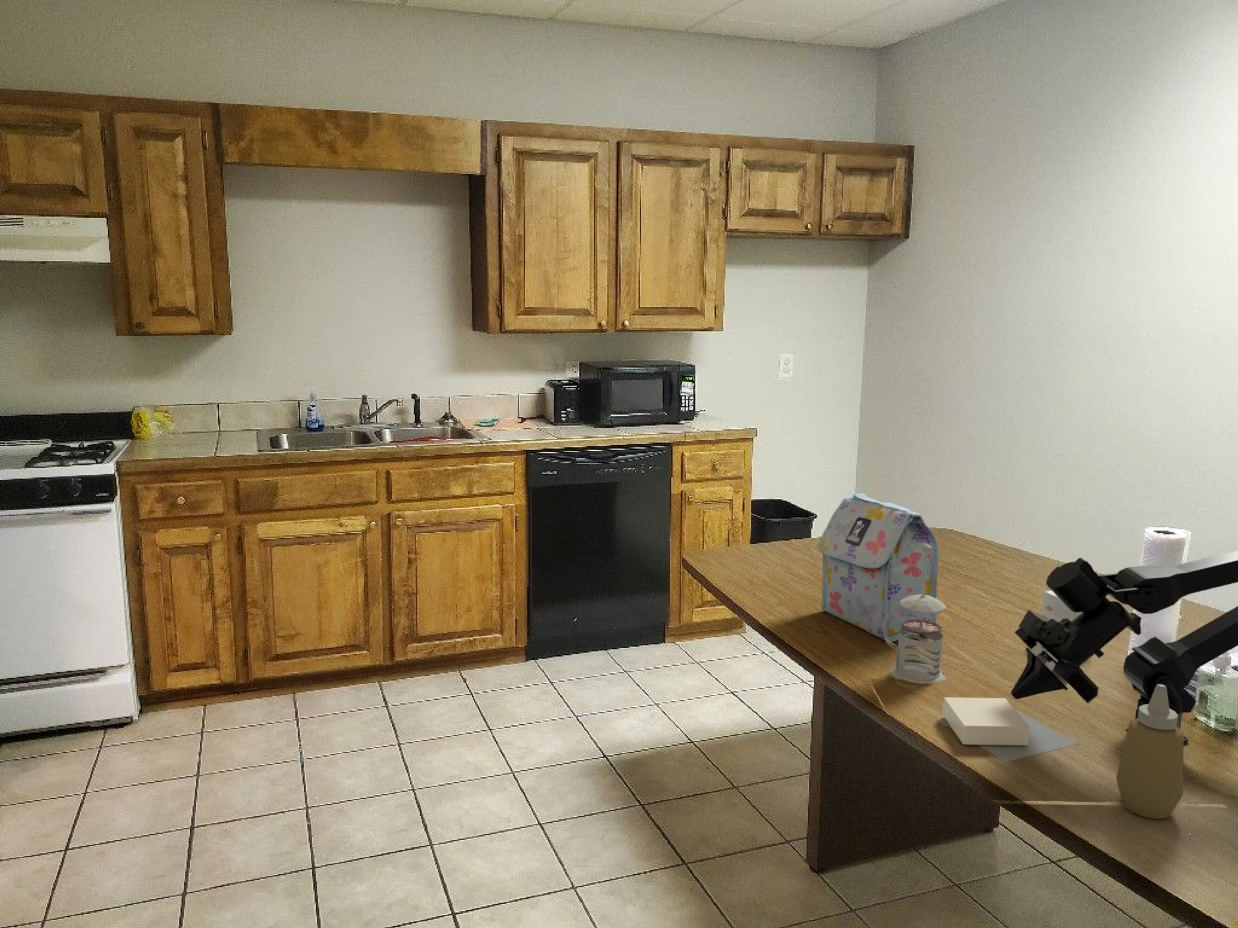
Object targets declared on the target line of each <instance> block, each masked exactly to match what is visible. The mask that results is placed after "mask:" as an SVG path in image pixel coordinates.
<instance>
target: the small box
mask: <svg viewBox="0 0 1238 928" xmlns="http://www.w3.org/2000/svg"><path fill="white" fill-rule="evenodd" d="M1042 603H1043V604H1042V611H1041V612H1042V614H1041V615H1043V616H1045V617H1047V618H1049V619H1052V618H1053V619H1055V620H1056V621H1057V622H1060V621H1061V620H1062V619H1066V618H1067V619H1069V620H1070V621H1072V620H1074V619H1075V618H1076V617H1077V616H1078V615H1079V614H1081V613H1082V612H1072V611H1071V610H1070V609H1069V608H1068V607H1067V606H1066V605H1065V604H1064V603H1063V602H1062V601H1061V600H1060V599H1059V598H1058V597H1057V596H1056V595H1055V593H1054V592H1053V591H1052V590H1047V591H1044V592H1043V602H1042Z"/></svg>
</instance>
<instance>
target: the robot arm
mask: <svg viewBox="0 0 1238 928" xmlns="http://www.w3.org/2000/svg"><path fill="white" fill-rule="evenodd" d="M1237 583H1238V549H1237V550H1233V551H1229V552H1225V553H1221V554H1216V555H1212V556H1209V557H1206V558H1205V557H1204V558H1201V559H1196V560H1192V561H1189V562H1184V563H1179V564H1177V565H1176V564H1175V565H1169V566H1167V565H1166V566H1162V565H1159V566H1158V565H1140V566H1139V565H1137V566H1128V567H1125V568H1122V569H1121V570H1118V572H1117V573H1115V572H1114V573H1107V574H1106V573H1105V574H1099V575H1098V573H1097V572H1096V571H1095V570H1094V568H1093V567H1092V565H1091V564H1090V563H1089V562H1088V561H1087V560H1086V559H1084V558H1082V557H1078V559H1076V560H1075V561H1070V562H1066V563H1064V564H1062V565H1060V566H1056V567H1055V568H1054V569H1053V570H1052V571H1051V572H1050V573H1049V575H1048V576H1047V578H1046V584H1045V585H1046V586H1047V587H1048V588H1049V590H1050V591H1053V592H1054V593H1055V595H1056V596H1057V597H1058V598H1059V599H1060V600H1061V601H1062V602H1063V603H1064V604H1065V605H1066V606H1067V607H1068V608H1069V609H1070V610H1071V611H1072V612H1082V613H1081V614H1079V615H1078V616H1077V617H1076V618H1075V619H1074V620H1072V621H1070V620H1069V619H1067V618H1066V619H1062V620H1061V621H1060V622H1057V621H1056V620H1055V619H1053V618H1052V619H1049V618H1047V617H1045V616H1043V615H1042V614H1040V613H1039V612H1036V611H1034V610H1032V609H1030V608H1029V609H1027V611H1026V613H1025V615H1024V616H1023V617H1022V619H1021V622H1020V623H1019V625H1018V629H1016V631H1014V633H1015V635H1016V636H1017V637H1018V638H1019V639H1020V640H1021V642H1023V644H1025V645H1026V646H1027V647H1025V652H1026V660H1027V661H1026V665H1025V667H1024V669H1023V671H1022V672H1021V674H1020V676H1019V678H1018V680H1017V681H1016V682H1015V684H1014V686H1013V688H1012V689H1011V690H1010V695H1011V696H1012V697H1013V698H1014V699H1015V700H1020V699H1023V698H1028V697H1032V696H1036V695H1042V694H1044V693H1050V692H1055V691H1061V690H1064V691H1068V690H1069V687H1067V685H1068V684H1069V686H1071V688H1072V689H1073V690H1074V692H1076V693H1077V695H1078V696H1079V697H1080V698H1081V699H1082V700H1083V701H1084V702H1085V703H1086V704H1090V703H1091V702H1092V701H1094V700H1095V698H1097V697H1098V694H1099V687H1098V685H1096V683H1095V682H1094V681H1093V680H1091V678H1090V677H1089V676H1088V675H1087V674H1086V673H1085V672H1084V670H1083V669H1082V668H1081V666H1082V665H1084V664H1085V663H1087V661H1089V659H1090V658H1092V657H1093V656H1094V655H1095V656H1096V657H1097V658H1098V659H1101V658H1102V656H1104V655H1105V653H1104V652H1103V651H1102V650H1101V649H1103V648H1104V647H1105V646H1107V645H1108V644H1109V643H1110V642H1111V641H1113V640H1114V639H1115V638H1116V637H1118V635H1119V634H1121V633H1122V632H1123V631H1125V629H1128V630H1130V631H1131V632H1133V634H1135V635H1137V636H1140V635H1141V634H1142V628H1141V627H1142V626H1141V621H1142V617H1141V616H1139V615H1138V614H1136V613H1135V612H1129V611H1128V610H1127V609H1126V608H1125V607H1124V606H1123V605H1126V606H1129V607H1131V608H1132V609H1133V610H1135V611H1137V612H1139V613H1140V614H1144V615H1152V614H1155V613H1158V612H1160V611H1162V610H1164V609H1167V608H1170V607H1172V606H1174V605H1175V604H1177V603H1178V602H1179V601H1180V600H1181V599H1182V598H1183V597H1187V596H1188V595H1189V596H1190V595H1193V594H1196V593H1200V592H1204V591H1208V590H1212V589H1216V588H1221V587H1223V586H1224V587H1225V586H1229V585H1232V584H1237ZM1108 595H1109V596H1110V597H1111V598H1113V599H1114V600H1116V601H1114V600H1109V599H1108V598H1107V596H1108ZM1236 647H1238V605H1237V606H1236V607H1233V608H1232V609H1230V610H1228V611H1227V612H1225V613H1223V614H1221V615H1219V616H1218V617H1215V618H1214V619H1213V620H1211V621H1209V622H1207V623H1205V624H1204V625H1201V626H1200V627H1198V628H1197V629H1195V630H1193V631H1191V632H1190V633H1187V635H1184V636H1182V637H1181V638H1179V639H1177V640H1175V641H1171V642H1164V641H1163V640H1161V639H1160V638H1158V637H1157V636H1153V637H1150V638H1149V639H1148V640H1147V641H1145V642H1144V643H1143V644H1140V645H1138V646H1134V647H1131V651H1132V652H1131V653H1129V654H1128V655H1127V656H1126V657H1125V659H1124V663H1123V667H1122V668H1123V674H1124V677H1125V678H1126V679H1127V680H1128V681H1129V682H1130V684H1131V688H1132V689H1133V691H1136V692H1137V693H1138V694H1140V697H1139V698H1138V699H1137V706H1136V710H1135V716H1134V719H1137V718H1138V711H1139V707H1140V706H1142V705H1145V704H1149V702H1150V700H1151V697H1152V695H1153V692H1154V690H1155V687H1156V685H1157V684H1161V685H1165V686H1166V688H1167V695H1168V703H1169V709H1171V710H1173V711H1175V712H1176V713H1177V714H1178V719H1177V727H1178V728H1179V729H1180V730H1181V727H1182V716H1183V714H1184V713H1185V714H1188V713H1192V710H1193V709H1194V706H1195V705H1196V703H1197V700H1196V699H1195V698H1194V697H1193V696H1192V695H1191V694H1190V693H1189V692H1188V691H1187V689H1185V688H1186V687H1187V686H1189V685H1190V683H1191V681H1192V679H1193V678H1194V676H1195V674H1196V673H1197V671H1198V669H1199V668H1201V667H1203V666H1204V665H1206V664H1208V663H1210V662H1211V661H1214V660H1215V659H1217V658H1219V657H1220V656H1222V655H1224V654H1226V653H1228V652H1229V651H1231V650H1233V649H1235V648H1236ZM1128 727H1129V726H1128ZM1128 727H1126V728H1125V731H1126V732H1127V731H1128ZM1188 742H1189V738H1188V737H1187V736H1185V735H1183V744H1185V743H1188Z"/></svg>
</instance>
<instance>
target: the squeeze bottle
mask: <svg viewBox="0 0 1238 928" xmlns="http://www.w3.org/2000/svg"><path fill="white" fill-rule="evenodd" d="M1177 719H1178V714H1177V713H1176V712H1175V711H1173V710H1171V709H1169V703H1168V695H1167V688H1166V686H1165V685H1161V684H1157V685H1156V687H1155V690H1154V692H1153V695H1152V697H1151V700H1150V702H1149V704H1145V705H1142V706H1140V707H1139V711H1138V718H1137V719H1135V718H1134V719H1133V720H1131V721H1129V724H1128V731H1126V736H1125V740H1124V745H1123V749H1122V753H1121V757H1120V762H1119V765H1118V769H1117V772H1116V773H1117V774H1116V784H1117V786H1118V790H1119V794H1120V798H1121V802H1122V804H1123V805H1124V807H1125V808H1126V809H1127V810H1128V811H1130V812H1132V813H1134V814H1136V815H1138V816H1140V817H1145V818H1148V819H1157V820H1161V819H1167V818H1169V817H1170V816H1171V815H1172V813H1173V812H1174V811H1175V809H1176V808H1177V805H1178V804H1179V803H1180V800H1181V798H1182V797H1183V795H1184V743H1183V736H1184V733H1183V732H1182V731H1181V728H1180V729H1179V728H1178V727H1177Z"/></svg>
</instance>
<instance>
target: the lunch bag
mask: <svg viewBox="0 0 1238 928" xmlns="http://www.w3.org/2000/svg"><path fill="white" fill-rule="evenodd" d="M923 545H930V546H931V547H932V552H927V558H926V573H925V587H924V595H928V596H931V597H934V598H936V599H938V596H937V595H938V594H937V593H938V572H939V543H938V541H937V538H936V536H935V535H934V533H933V531H932V529H931V528H930V527H929V526H928V525H927V524H926V522H925V520H924V519H923V516H922V514H920V513H918V512H916V511H913V510H910V509H909V508H907V507H903V506H901V505H897V504H895V503H892V502H882V501H879V500H876V499H874V498H871V497H868V496H867V495H866V494H865V493H863V492H860V493H856V494H853V495H852V496H849V497H844V498H843V499H842V501H840V504H839V505H838V507H837V508H836V509H835V511H834V513H832V515H831V517H830V519H829V522H828V523H827V525H826V528H825V529H824V531H823V532H822V535H821V536H820V538H819V541H818V545H817V546H818V550H819V551H818V552H819V553H821V554H822V576H821V577H822V582H821V583H822V585H821V610H822V612H827V613H828V614H830V615H833V616H835V617H836V618H839V619H841V620H842V621H846V622H848V623H849V624H852V625H854V626H856V627H858V628H860V629H862V630H864V631H866V632H868V633H870V634H871V635H874V636H875V637H877V638H880V639H882V640H884V641H885V638H884V634H883V621H884V619H885V617H886V615H887V614H888V613H889V612H891V611H892V610H895V609H900V610H901V619H900V618H899V613H896V614H894V615H893V616H891V617H890V618H889V619H888V621H887V623H886V625H885V635H886V638H887V639H888V640H889V641H890V642H891V643H893V642H896V641H898V640H899V630H900V629H901V628H903V627H902V626H901V622H902V621H905V620H906V619H912V618H913V619H921V614H922V613H916V612H912V611H909V610H906V609H904V608H903V607H902V606H901V605H900V601H901V600H902V599H904V598H906V597H908V596H913V595H919V594H920V595H923V585H924V571H925V557H926V552H923V551H921V548H922V546H923ZM895 612H899V610H896V611H893V612H892V613H890V614H889V615H888V617H889V616H890V615H891V614H893V613H895ZM937 614H938V613H937ZM937 614H923V617H922V620H929V621H932V622H933V621H934V622H935V623H937ZM888 617H887V618H888ZM887 618H886V620H887ZM885 622H886V621H885ZM884 624H885V623H884ZM911 634H914V635H918V636H920V634H916V633H912V632H907V633H906V634H904V635H903V636H904V637H905V636H908V635H911ZM887 642H888V641H887ZM888 643H889V642H888Z"/></svg>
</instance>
